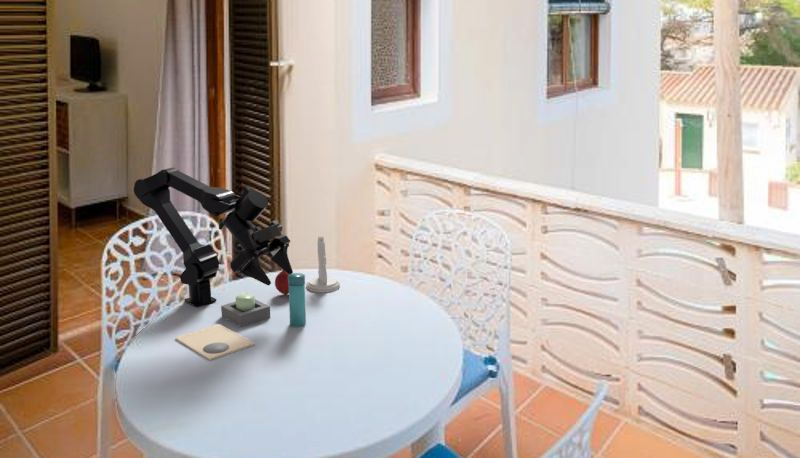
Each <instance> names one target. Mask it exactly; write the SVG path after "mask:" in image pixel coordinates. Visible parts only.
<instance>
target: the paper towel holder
mask: <svg viewBox="0 0 800 458" xmlns="http://www.w3.org/2000/svg"><path fill="white" fill-rule="evenodd" d="M325 243H326V242H325V240H324V236H323V235H319V236H318V237H317V258H318V259H317V260H318V271H317V272H318V276H314V277H312V278H310V279H309V280H308V281H307V282H306V284H305V286H306V288H305V289H306V290H308V291H310V292H315V293H330V292H334V291H337V290H339V289H340V287H341V284H340V281H339V280H338V278H336V277H333V276H329V275H328V273H327V255H326V254H327V253H326V244H325Z"/></svg>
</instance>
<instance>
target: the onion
mask: <svg viewBox="0 0 800 458" xmlns="http://www.w3.org/2000/svg"><path fill="white" fill-rule="evenodd" d="M288 275H289V274H288V273H287V272H285V271H284V270H283V269H282V270H281V271H280V272H278V273H277V275H276V276H275V279H274V286H275V289H276V290H277V291H278V292H279V293H281V294H283V295H285V296H287V295H289V284H288Z"/></svg>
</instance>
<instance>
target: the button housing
mask: <svg viewBox="0 0 800 458" xmlns="http://www.w3.org/2000/svg"><path fill="white" fill-rule="evenodd" d="M220 308H221V310H220V311H221V317H222V318H223V319H226V320H227V321H230V322H231V323H233V324H235V325H236V326H239V327H243V326H248V325H250V324H253V323H256V322H260V321H263V320H265V319H269V318H271V306H270V305H268V304H267V303H264V302H261V301H259V300H257V299H255V309H251V310H248V311H245V312H240V311H238V310H236V301H233V302H229V303H226V304H222V305H221V307H220Z"/></svg>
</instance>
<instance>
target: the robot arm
mask: <svg viewBox="0 0 800 458" xmlns="http://www.w3.org/2000/svg"><path fill="white" fill-rule="evenodd" d="M170 188H172V189H174V190H176V191H178V192H180V193H182V194H184V195H186V196H187V197H189V198H191V199H193V200H196V202H199V204H200V206H201V207H202V209H203V210H204V211H206V212H208V213H209V214H210V215H211V216H213V217H219V216H222V215H225V214H226V216H225V217H222V218H219V225H218V229H219V230H224V229H227V230H228V231H229V232H230V234H231V235H232V236H233V238H234V239H235V240H236V242H235V243H234V245H235V246H236V247H241V248H242V249H243V250H242V251H239V252H238V253H237V255H236V256H235V257H234V258H233V259H232V260H231V261H230V269H231V270H232V272H233V273H234V274H236V273H238V274H239V275H245V276H247V277H249V278H252V279H253V280H256V281H258V282H260V283H262V284H264V285H266V286H270V285H272V281H271V279H270V278H269V276H268V275H267V274H266V273H265V271H264V269H263V268H262V267H261V265H260V260H259V259H260V258H261V257H263V256H266V255H268V257H271V258H270V260H271V261H272V262H273V263H275V264H276V265H277V266H278V267H279V268H280V269H282V270H284V271H285V272H287V273H288V274H293V272H294V271H293V268H292V265H291V262H290V260H289V255H288V248H289V247H290V243H291V239H290V238H289V237H288V236H287V235H286V234H285V235H284V234H282V233H281V232H282V231H283V225H281V223H280V222H279V221H278V220H277V219H275V220H273V221H270V222H268V226H267V227H265V228H262V227H261V226H258V225H257V226H255V225H254V224H253V223H252V222H254V221H256V220H257V218H259V216H260V215H261V214H262V213H263V212H264V211H265V210H266V208H268V206H269V201H268V198H267V197H266V196H265V194H263V193H262V192H259V190H254V189H253V187H247V188H245V189H244V190H243V192H242V194H241V195H237V194H235V192H233V191H232V190H230V189H226V188H222V187H215V186H211V185H208V184H205V183H203V182H202V181H200V180H197V179H196V178H194V177H192V176H190V175H188V174H186V173H184V172H182V171H180V170H179V169H178V168H177V167H169V168H165V169H161V170H159V171H158V172H157V173H154V174H152V175H150V176H148V177H144V178H140V179H137V180H136V181H135V182H134V186H133V193H134V195H135V197H136V198H137V199H138V200H139V202H141V204H143V205H144V206H145V207H147V208H149V209H151V210H153V211H154V212H155V214H156V215H157V217H158V218H159V220H160V221H161V222H162V224H163V226H164V227H165V228H166V230H167V232H168V234H170V236H171V237H172V239H173V240H174V242H175V243H176V244H177V246H178V248H179V249H180V250H181V251H180V252H181V253H182V257H183V266H184V268H185V269H184V270H183V272H182V273H181V274H179V279H180V282H181V284H184V285H188V286H187V287H188V297H187V298H184V299H183V300H184V302H186V303H187V304H189V305H192V306H193V307H200V306H204V305H207V304H210V303H215V302H217V298H215V297H213V296H212V290H211V289H212V288H211V279H213V278H216V277H217V273H218V271H219V269H220V268H219V267H220V260H219V258H218V256H219V255H218V254H217V253H216V252H215V250H214V249H213V247H212V245H210V244H209V243H208V244H205V245H204V244H202V243H200V242H199V241H198V239H197V238H196V237H195V235H194V234H193V232H192V231H191V228H189V226H188V225H187V223H186V222H185V220H184V219H183V217H182V216H181V214H180V213H179V212H178V210H177V208H176V207H175V205H174V204H173V203H172V201H171V190H170Z"/></svg>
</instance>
